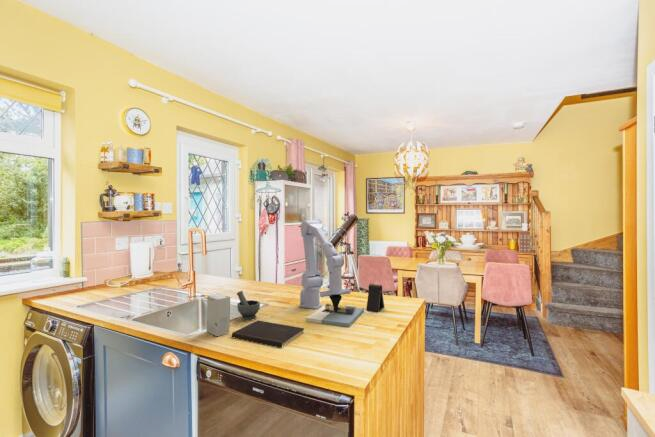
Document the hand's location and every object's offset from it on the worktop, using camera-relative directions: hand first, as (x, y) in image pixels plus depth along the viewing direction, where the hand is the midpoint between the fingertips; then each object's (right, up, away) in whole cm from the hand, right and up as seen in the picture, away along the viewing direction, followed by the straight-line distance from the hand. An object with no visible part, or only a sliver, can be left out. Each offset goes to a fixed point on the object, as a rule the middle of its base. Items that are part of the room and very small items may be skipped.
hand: (335, 311), depth 146 cm
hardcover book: (-27, -4, -22) cm, 35 cm away
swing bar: (+1, -1, +2) cm, 2 cm away
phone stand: (+20, -3, +11) cm, 23 cm away
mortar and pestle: (-40, -3, -1) cm, 40 cm away
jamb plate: (-6, -3, +3) cm, 7 cm away
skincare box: (-47, -3, -19) cm, 51 cm away
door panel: (+4, -3, -1) cm, 5 cm away
